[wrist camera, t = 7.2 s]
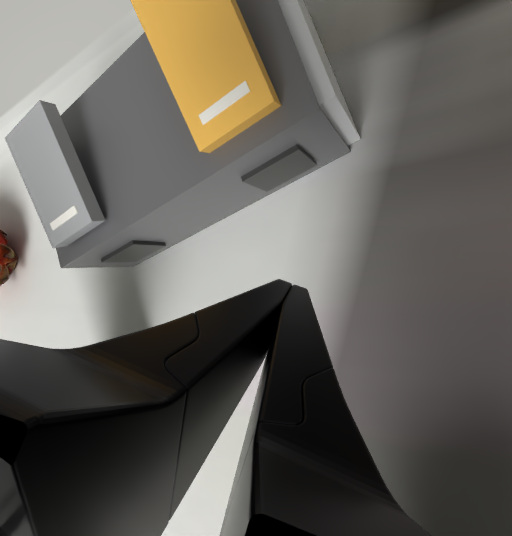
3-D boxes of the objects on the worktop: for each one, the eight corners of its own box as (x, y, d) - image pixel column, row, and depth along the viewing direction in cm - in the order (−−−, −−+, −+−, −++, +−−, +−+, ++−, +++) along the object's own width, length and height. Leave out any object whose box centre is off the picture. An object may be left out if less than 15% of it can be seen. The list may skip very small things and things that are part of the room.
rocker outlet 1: (105, 220, 21) (91, 221, 20) (66, 246, 23) (51, 248, 22) (55, 104, 21) (38, 100, 20) (20, 140, 23) (3, 137, 22)
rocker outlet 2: (281, 105, 15) (273, 100, 14) (209, 153, 17) (198, 151, 16) (209, -61, 15) (196, -78, 14) (143, 7, 17) (128, -3, 16)
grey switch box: (365, 149, 20) (338, 104, 14) (128, 272, 30) (55, 275, 24) (307, 8, 21) (261, -85, 15) (100, 170, 31) (25, 150, 25)
